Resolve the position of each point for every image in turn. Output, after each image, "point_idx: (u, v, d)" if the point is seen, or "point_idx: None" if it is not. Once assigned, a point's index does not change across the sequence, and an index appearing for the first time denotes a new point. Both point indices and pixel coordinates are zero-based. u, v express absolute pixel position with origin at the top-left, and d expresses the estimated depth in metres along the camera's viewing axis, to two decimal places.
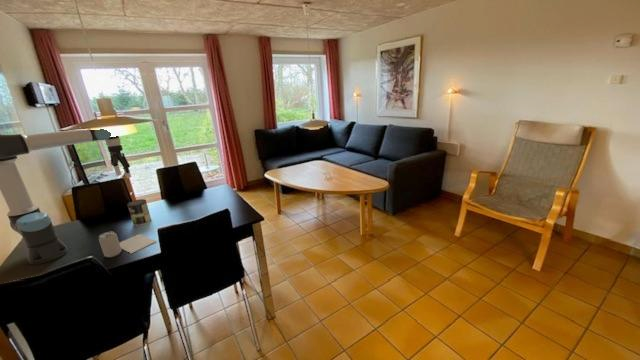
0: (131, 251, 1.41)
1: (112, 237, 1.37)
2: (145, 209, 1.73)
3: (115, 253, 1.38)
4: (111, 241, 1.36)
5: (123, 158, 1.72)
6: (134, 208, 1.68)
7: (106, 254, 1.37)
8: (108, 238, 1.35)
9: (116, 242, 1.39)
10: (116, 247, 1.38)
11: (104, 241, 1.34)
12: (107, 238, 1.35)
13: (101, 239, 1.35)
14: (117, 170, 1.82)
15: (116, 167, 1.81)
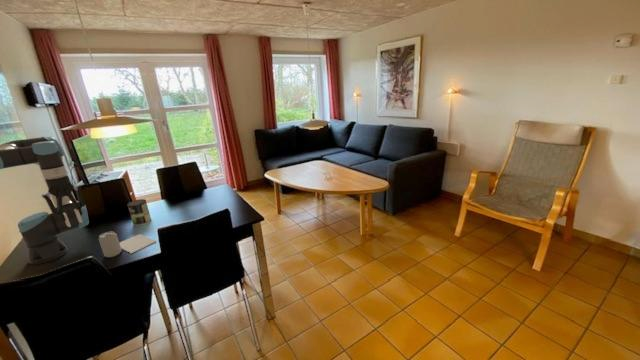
0: (131, 251, 1.41)
1: (112, 237, 1.37)
2: (145, 209, 1.73)
3: (115, 253, 1.38)
4: (111, 241, 1.36)
5: (47, 202, 1.17)
6: (134, 208, 1.68)
7: (106, 254, 1.37)
8: (108, 238, 1.35)
9: (116, 242, 1.39)
10: (116, 247, 1.38)
11: (104, 241, 1.34)
12: (107, 238, 1.35)
13: (101, 239, 1.35)
14: (77, 215, 1.26)
15: (75, 211, 1.26)
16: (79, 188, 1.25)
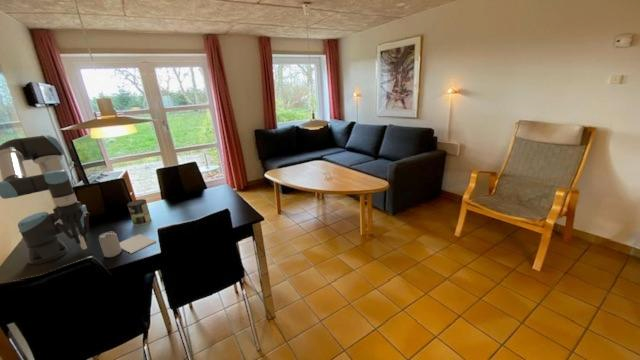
0: (131, 251, 1.41)
1: (112, 237, 1.37)
2: (145, 209, 1.73)
3: (115, 253, 1.38)
4: (111, 241, 1.36)
5: (61, 228, 1.22)
6: (134, 208, 1.68)
7: (106, 254, 1.37)
8: (108, 238, 1.35)
9: (116, 242, 1.39)
10: (116, 247, 1.38)
11: (104, 241, 1.34)
12: (107, 238, 1.35)
13: (101, 239, 1.35)
14: None
15: None
16: (88, 214, 1.29)
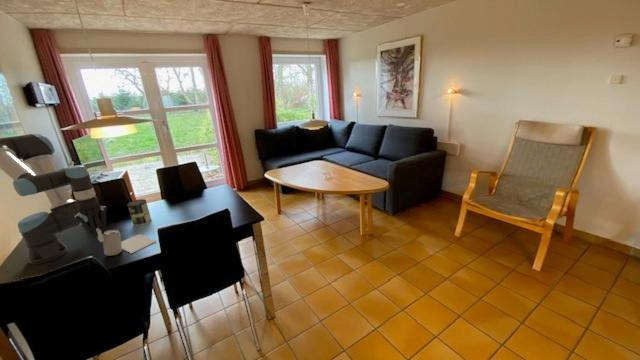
0: (131, 251, 1.41)
1: (116, 235, 1.38)
2: (145, 209, 1.73)
3: (115, 252, 1.38)
4: (114, 239, 1.37)
5: (80, 221, 1.27)
6: (134, 208, 1.68)
7: (106, 252, 1.37)
8: (112, 235, 1.36)
9: (119, 241, 1.39)
10: (117, 246, 1.39)
11: (108, 238, 1.35)
12: (111, 235, 1.36)
13: (105, 236, 1.36)
14: None
15: None
16: (105, 208, 1.34)
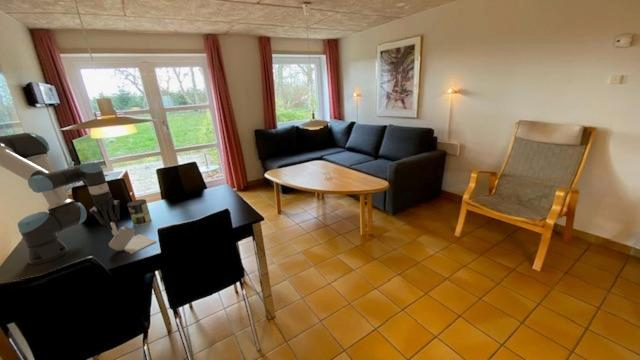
0: (131, 251, 1.41)
1: (132, 232, 1.44)
2: (145, 209, 1.73)
3: (119, 247, 1.40)
4: (128, 235, 1.42)
5: (95, 215, 1.32)
6: (134, 208, 1.68)
7: (112, 243, 1.38)
8: (129, 231, 1.42)
9: (129, 239, 1.43)
10: (125, 243, 1.41)
11: (125, 231, 1.41)
12: (129, 230, 1.42)
13: (124, 228, 1.42)
14: None
15: None
16: (118, 202, 1.39)
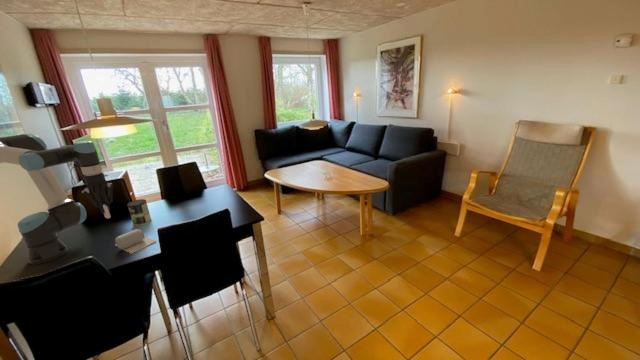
0: (131, 251, 1.41)
1: (142, 238, 1.49)
2: (145, 209, 1.73)
3: (124, 244, 1.41)
4: (138, 238, 1.47)
5: (87, 197, 1.29)
6: (134, 208, 1.68)
7: (121, 237, 1.42)
8: (142, 235, 1.48)
9: (135, 242, 1.46)
10: (130, 243, 1.44)
11: (138, 233, 1.47)
12: (141, 234, 1.48)
13: (139, 230, 1.49)
14: None
15: None
16: (112, 185, 1.36)
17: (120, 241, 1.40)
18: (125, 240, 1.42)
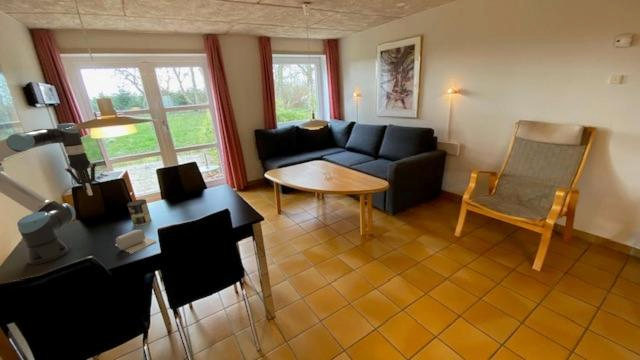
0: (131, 251, 1.41)
1: (143, 239, 1.48)
2: (145, 209, 1.73)
3: (124, 245, 1.41)
4: (139, 239, 1.47)
5: (70, 174, 1.41)
6: (134, 208, 1.68)
7: (122, 238, 1.41)
8: (142, 236, 1.48)
9: (136, 243, 1.46)
10: (130, 244, 1.44)
11: (139, 234, 1.47)
12: (142, 235, 1.48)
13: (140, 231, 1.48)
14: None
15: None
16: (94, 165, 1.47)
17: (121, 242, 1.40)
18: (126, 241, 1.42)
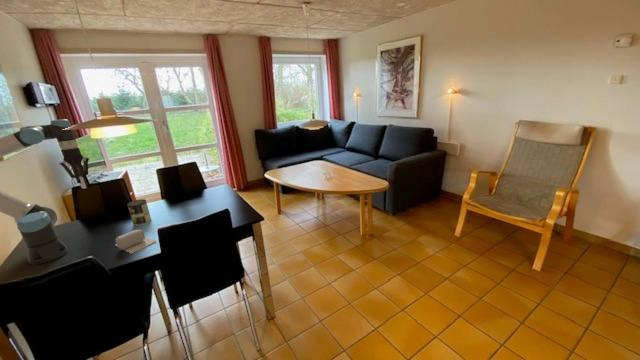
0: (131, 251, 1.41)
1: (142, 238, 1.48)
2: (145, 209, 1.73)
3: (124, 245, 1.41)
4: (139, 239, 1.47)
5: (65, 168, 1.48)
6: (134, 208, 1.68)
7: (122, 238, 1.41)
8: (142, 236, 1.48)
9: (136, 243, 1.46)
10: (130, 244, 1.44)
11: (139, 233, 1.47)
12: (142, 235, 1.48)
13: (140, 231, 1.48)
14: None
15: None
16: (87, 159, 1.54)
17: (121, 242, 1.40)
18: (126, 241, 1.42)
